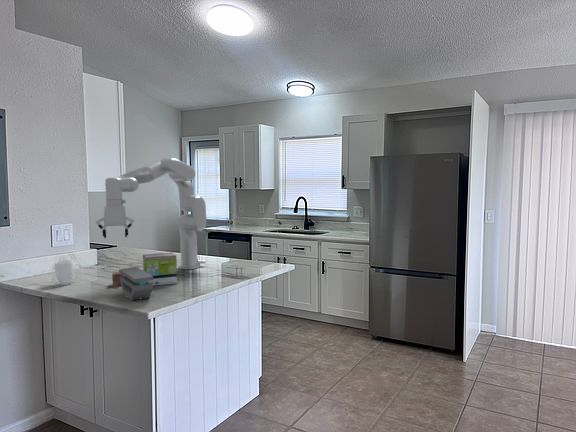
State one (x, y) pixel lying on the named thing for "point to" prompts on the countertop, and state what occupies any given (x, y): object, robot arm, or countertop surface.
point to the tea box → (161, 267)
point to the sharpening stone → (136, 283)
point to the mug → (65, 271)
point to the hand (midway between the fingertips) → (115, 237)
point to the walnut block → (116, 278)
